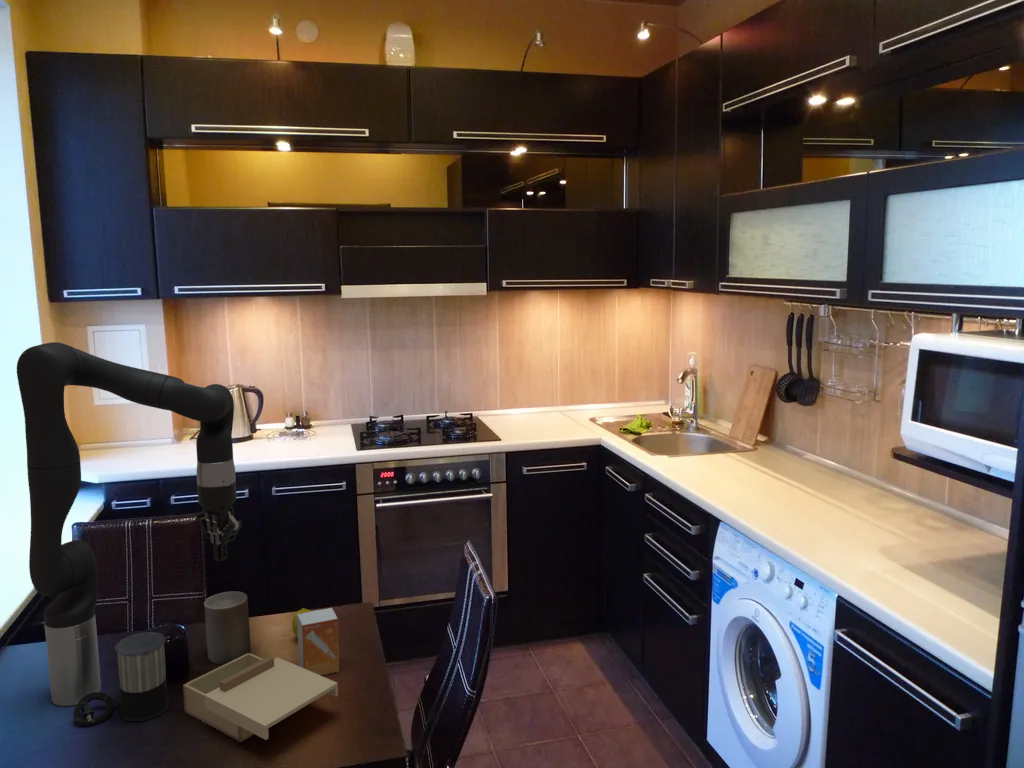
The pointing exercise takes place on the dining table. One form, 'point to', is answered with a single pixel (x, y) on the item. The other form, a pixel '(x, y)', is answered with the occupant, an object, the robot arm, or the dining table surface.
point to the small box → (318, 641)
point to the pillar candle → (227, 626)
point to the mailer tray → (208, 683)
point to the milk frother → (134, 682)
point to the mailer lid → (266, 694)
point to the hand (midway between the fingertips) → (220, 559)
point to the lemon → (294, 622)
